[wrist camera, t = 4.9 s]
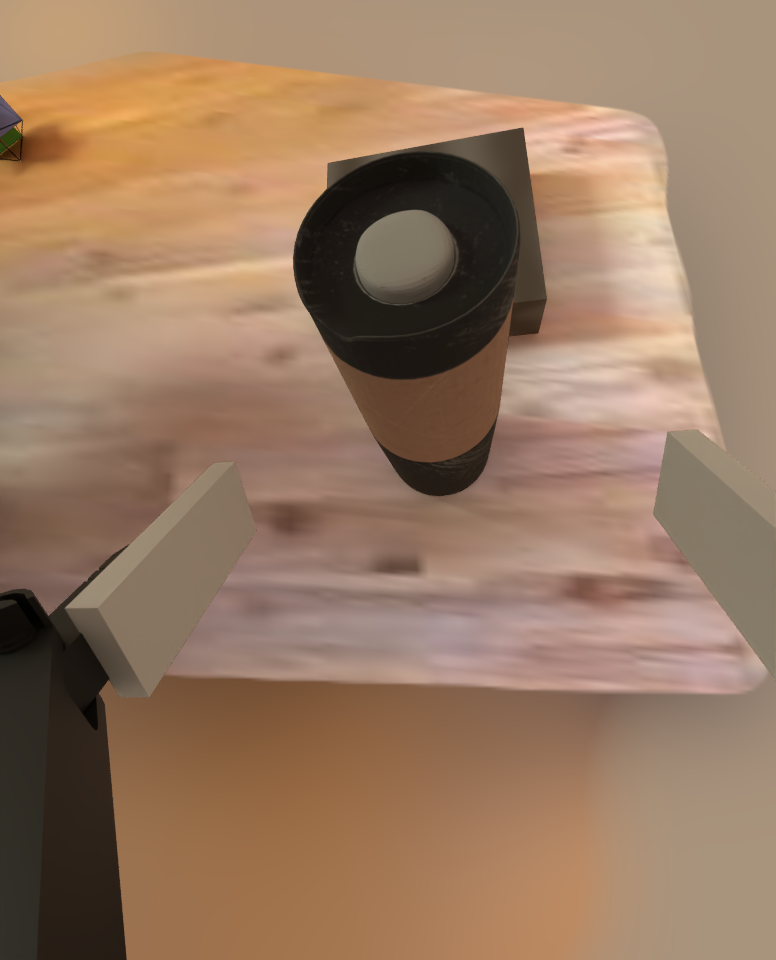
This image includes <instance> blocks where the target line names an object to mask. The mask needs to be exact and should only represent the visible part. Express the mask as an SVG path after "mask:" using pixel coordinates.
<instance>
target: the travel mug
mask: <svg viewBox="0 0 776 960" xmlns="http://www.w3.org/2000/svg"><path fill="white" fill-rule="evenodd" d="M520 240H521V236H520V221H519V217H518V213H517V209H516V207H515V204H514V202H513V199H512V197H511V196H510V194H509V192H508V191H507V189H506V188H505V186H504V185H503V184H502V183H501V182H500V181H499V179H498V178H497V177H496V176H494V175H493V174H492V173H491V172H490V171H488V170H487V169H485V168H484V167H482V166H480V165H479V164H477V163H475V162H473V161H471V160H468V159H466V158H463V157H460V156H457V155H453V154H448V153H443V152H433V151H412V152H405V153H398V154H394V155H389V156H385V157H382V158H379V159H376V160H373V161H371V162H368V163H366V164H364V165H362V166H359V167H358V168H356V169H354V170H352V171H351V172H349V173H347V174H346V175H344V176H343V177H341V178H340V179H338V180H337V181H336V182H335V183H333V184H332V185H331V186H330V187H329V188H328V189H326V190H325V191H324V193H323V194H322V195H321V196H320V197H319V198H318V199H317V200H316V201H315V203H314V204H313V205H312V207H311V208H310V209H309V211H308V213H307V214H306V216H305V218H304V220H303V221H302V224H301V226H300V229H299V231H298V234H297V238H296V241H295V246H294V255H293V269H294V276H295V282H296V286H297V290H298V293H299V296H300V298H301V300H302V302H303V304H304V306H305V307H306V309H307V310H308V312H309V313H310V315H311V317H312V319H313V320H314V322H315V324H316V326H317V328H318V330H319V332H320V334H321V336H322V338H323V340H324V342H325V344H326V346H327V348H328V349H329V351H330V353H331V355H332V357H333V359H334V361H335V363H336V365H337V367H338V369H339V371H340V373H341V375H342V377H343V379H344V381H345V382H346V384H347V386H348V388H349V390H350V392H351V394H352V396H353V398H354V400H355V402H356V404H357V406H358V408H359V410H360V412H361V413H362V415H363V417H364V419H365V421H366V423H367V425H368V427H369V429H370V431H371V432H372V434H373V436H374V437H375V439H376V441H377V442H378V444H379V445H380V447H381V448H382V450H383V451H384V453H385V455H386V456H387V458H388V459H389V461H390V462H391V464H392V465H393V467H394V469H395V470H396V472H397V473H398V474H399V476H400V477H401V478H402V479H403V480H404V481H405V482H406V483H407V484H408V485H409V486H410V487H412V488H413V489H415V490H417V491H419V492H421V493H424V494H428V495H434V496H444V495H450V494H454V493H457V492H459V491H462V490H463V489H465V488H467V487H468V486H470V485H471V484H472V483H473V482H474V481H475V480H476V479H477V478H478V477H479V476H480V474H481V473H482V471H483V469H484V467H485V465H486V462H487V459H488V455H489V451H490V447H491V443H492V438H493V434H494V430H495V425H496V421H497V416H498V412H499V407H500V399H501V392H502V384H503V376H504V368H505V361H506V353H507V345H508V337H509V329H510V322H511V314H512V306H513V298H514V291H515V283H516V275H517V267H518V260H519V251H520Z"/></svg>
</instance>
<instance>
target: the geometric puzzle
mask: <svg viewBox="0 0 776 960" xmlns="http://www.w3.org/2000/svg"><path fill="white" fill-rule="evenodd" d="M21 121H22V126H23V119H21V118H20V117H19V116H18V114H17V113H16V112H15V111H14V110H13V109H12V108H11V107H10V106H9V105H8V104H7V102H6V101H5V100H4V99H3V98H2V97H1V96H0V154H1V153H2V152H3V151H5V150H6V149H8V150H9V151H10V152H11V153H12V154H13V155H14V156H15V157H16V158H17V159H18V160H12V161H20V162H21V152H20V159H19V158H18V157H17V156H16V155H15V154H14V153H13V152H12V151H11V150H10V149H9V148H8V147H10V146H11V145H12V144H14V143H15V142H16V141H17V140H19V139H20V138H21V148H22V137H23V136H22V131H21V133H19V132H20V131H19V132H18V131H17V130H16V129H15V128H14V126H16V125H17V124H18V123H19V122H21ZM16 127H17V126H16ZM18 130H19V129H18ZM0 160H3V159H2V158H0ZM7 160H11V159H7Z"/></svg>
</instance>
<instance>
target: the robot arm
mask: <svg viewBox="0 0 776 960" xmlns="http://www.w3.org/2000/svg"><path fill="white" fill-rule="evenodd" d="M653 514H654V516H655V517H656V519H657V520H658V521H659V523H660V524H661V525H662V527H663V528H664V529H665V531H666V532H667V533H668V535H669V536H670V538H671V539H672V540H673V542H674V543H675V544H676V546H677V547H678V548H679V550H680V551H681V553H682V554H683V555H684V557H685V558H686V559H687V561H688V562H689V563H690V565H691V566H692V567H693V569H694V570H695V572H696V573H697V574H698V576H699V577H700V578H701V580H702V581H703V582H704V584H705V585H706V587H707V588H708V589H709V591H710V592H711V593H712V595H713V596H714V597H715V599H716V600H717V601H718V603H719V604H720V606H721V607H722V608H723V610H724V611H725V612H726V614H727V615H728V616H729V618H730V619H731V621H732V622H733V623H734V625H735V626H736V627H737V629H738V630H739V631H740V633H741V634H742V635H743V637H744V638H745V640H746V641H747V642H748V644H749V645H750V646H751V648H752V649H753V650H754V652H755V653H756V654H757V656H758V657H759V659H760V660H761V661H762V663H763V664H764V665H765V667H766V668H767V669H768V671H769V672H770V673H771V675H772V676H773V678H774V679H775V680H776V491H775V490H774V489H773V488H771V487H770V486H769V485H768V484H766V483H765V482H764V481H762V480H761V479H760V478H759V477H757V476H756V475H755V474H753V473H752V472H751V471H749V470H748V469H747V468H746V467H744V466H743V465H742V464H741V463H739V462H738V461H737V460H736V459H734V458H733V457H732V456H730V455H729V454H728V453H727V452H725V451H724V450H723V449H722V448H720V447H719V446H718V445H716V444H715V443H714V442H713V441H711V440H710V439H709V438H707V437H706V436H705V435H704V434H702V433H701V432H700V431H699V430H685V431H671V432H667V438H666V444H665V449H664V455H663V461H662V467H661V472H660V478H659V484H658V489H657V495H656V501H655V506H654V512H653ZM256 531H257V529H256V526H255V523H254V520H253V517H252V514H251V511H250V507H249V504H248V501H247V498H246V495H245V492H244V489H243V486H242V482H241V479H240V476H239V473H238V470H237V467H236V464H235V461H234V462H220V463H213V464H212V465H211V466H210V467H209V468H208V469H207V470H206V471H205V472H204V473H203V474H202V475H201V476H200V477H198V478H197V479H196V480H195V481H194V482H193V483H192V484H191V485H190V486H189V487H188V488H187V489H186V490H185V491H184V492H183V493H182V494H181V495H180V496H179V497H178V498H177V499H176V500H175V501H174V502H173V503H172V504H171V505H170V506H169V507H168V508H167V509H166V510H165V511H164V512H163V513H162V514H161V515H160V516H159V517H158V518H157V519H155V520H154V521H153V522H152V523H151V524H150V525H149V526H148V527H147V528H146V529H145V530H144V531H143V532H142V533H141V534H140V535H139V536H138V537H137V538H136V539H135V540H134V541H133V542H132V543H131V544H129V545H127V546H126V547H124V548H123V549H121V550H120V551H118V552H116V553H115V554H113V555H112V556H111V557H110V558H109V559H108V560H107V561H106V562H105V563H104V564H103V565H102V566H101V567H100V568H99V571H95V572H94V573H93V574H92V575H91V576H90V577H89V578H88V581H87V582H84V583H83V584H82V585H81V586H80V587H79V588H78V589H77V590H76V591H74V592H73V593H72V594H71V595H70V596H69V597H68V598H67V599H66V600H65V601H64V602H63V603H62V604H61V605H60V606H59V607H58V608H57V609H56V610H55V611H54V612H53V613H52V614H50V615H49V616H48V615H47V613H46V612H45V610H44V609H43V607H42V606H41V604H40V603H39V601H38V600H37V598H36V597H35V595H34V594H33V592H32V591H31V590H27V589H16V590H11V591H8V592H4V593H1V594H0V960H126V947H125V936H124V924H123V913H122V901H121V890H120V878H119V866H118V854H117V842H116V831H115V820H114V809H113V797H112V784H111V773H110V761H109V750H108V738H107V726H106V715H105V704H104V702H103V700H102V698H101V696H100V695H99V692H100V690H101V689H102V687H103V686H104V685H105V684H106V682H107V681H108V680H109V681H110V682H111V684H112V685H113V687H114V688H115V690H116V692H117V693H118V695H119V697H147V698H148V697H150V695H151V694H152V693H153V691H154V689H155V688H156V686H157V685H158V683H159V682H160V680H161V679H162V677H163V676H164V674H165V672H166V671H167V669H168V668H169V666H170V665H171V663H172V662H173V660H174V658H175V657H176V655H177V654H178V652H179V651H180V649H181V648H182V646H183V644H184V643H185V641H186V640H187V638H188V637H189V635H190V634H191V632H192V630H193V629H194V627H195V626H196V624H197V623H198V621H199V620H200V618H201V616H202V615H203V613H204V612H205V610H206V609H207V607H208V606H209V604H210V602H211V601H212V599H213V598H214V596H215V595H216V593H217V592H218V590H219V588H220V587H221V585H222V584H223V582H224V581H225V579H226V578H227V576H228V574H229V573H230V571H231V570H232V568H233V567H234V565H235V564H236V562H237V561H238V559H239V557H240V556H241V554H242V553H243V551H244V550H245V548H246V547H247V545H248V543H249V542H250V540H251V539H252V537H253V536H254V534H255V533H256Z"/></svg>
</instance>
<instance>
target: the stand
mask: <svg viewBox="0 0 776 960" xmlns="http://www.w3.org/2000/svg"><path fill="white" fill-rule="evenodd" d="M412 151H433V152H443V153H448V154H453V155H457V156H460V157H463V158H466V159H468V160H471V161H473V162H475V163H477V164H479V165H480V166H482V167H484V168H485V169H487V170H488V171H490V172H491V173H492V174H493V175H494V176H496V177H497V178H498V179H499V181H500V182H501V183H502V184H503V185H504V186H505V188H506V189H507V191H508V192H509V194H510V196H511V197H512V199H513V202H514V204H515V207H516V209H517V213H518V217H519V221H520V236H521V240H520V251H519V260H518V267H517V275H516V283H515V291H514V298H513V306H512V314H511V322H510V329H509V336H516V335H525V334H534V333H538V332H539V328H540V324H541V320H542V316H543V312H544V308H545V304H546V300H547V297H546V289H545V282H544V275H543V267H542V260H541V253H540V246H539V238H538V231H537V224H536V216H535V209H534V202H533V194H532V187H531V180H530V173H529V165H528V158H527V151H526V143H525V136H524V129H523V128H518V129H513V130H507V131H502V132H496V133H491V134H485V135H480V136H474V137H469V138H463V139H458V140H452V141H447V142H441V143H436V144H430V145H425V146H419V147H414V148H408V149H403V150H397V151H392V152H386V153H381V154H375V155H370V156H364V157H359V158H353V159H348V160H342V161H337V162H331V163H328V171H327V189H328V188H329V187H330V186H331V185H332V184H333V183H335V182H336V181H337V180H338V179H340V178H341V177H343V176H344V175H346V174H347V173H349V172H351V171H352V170H354V169H356V168H358V167H359V166H362V165H364V164H366V163H368V162H371V161H373V160H376V159H379V158H382V157H385V156H389V155H394V154H398V153H405V152H412Z"/></svg>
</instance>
